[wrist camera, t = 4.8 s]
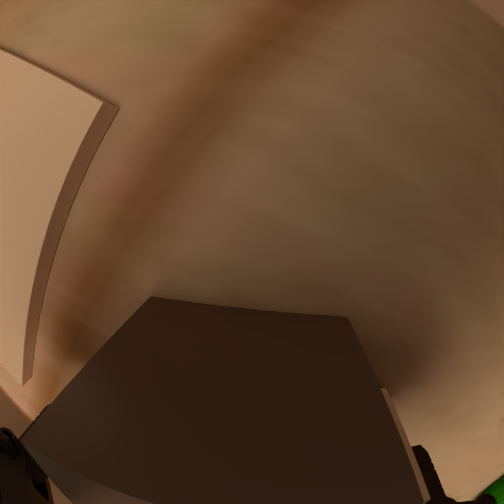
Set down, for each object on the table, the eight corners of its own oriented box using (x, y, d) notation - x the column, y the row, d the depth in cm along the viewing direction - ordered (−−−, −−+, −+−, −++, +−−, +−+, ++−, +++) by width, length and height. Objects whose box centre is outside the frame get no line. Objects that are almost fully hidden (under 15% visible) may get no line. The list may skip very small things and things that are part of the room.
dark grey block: (150, 296, 11) (6, 456, 2) (347, 317, 10) (431, 524, 2) (170, 444, 13) (127, 560, 5) (302, 460, 13) (305, 585, 5)
